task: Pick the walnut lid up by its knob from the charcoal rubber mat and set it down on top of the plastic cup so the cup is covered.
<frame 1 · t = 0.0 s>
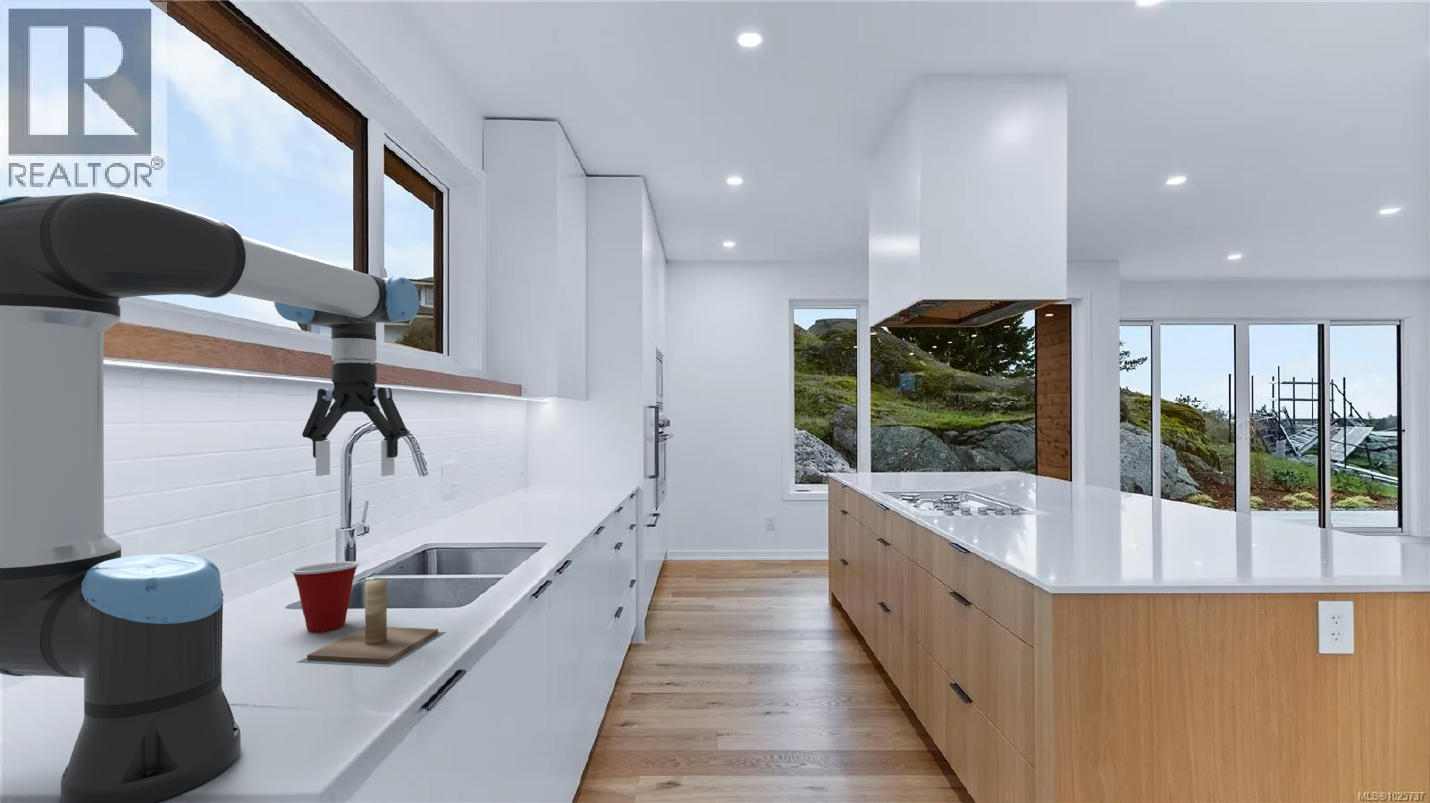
hand: (355, 475, 124), 28 cm above the worktop, fingers open, 13 cm apart
walnut lid: (376, 646, 110), resting on charcoal mat
charcoal mat: (376, 648, 110), on the worktop
plastic cup: (326, 630, 121), on the worktop
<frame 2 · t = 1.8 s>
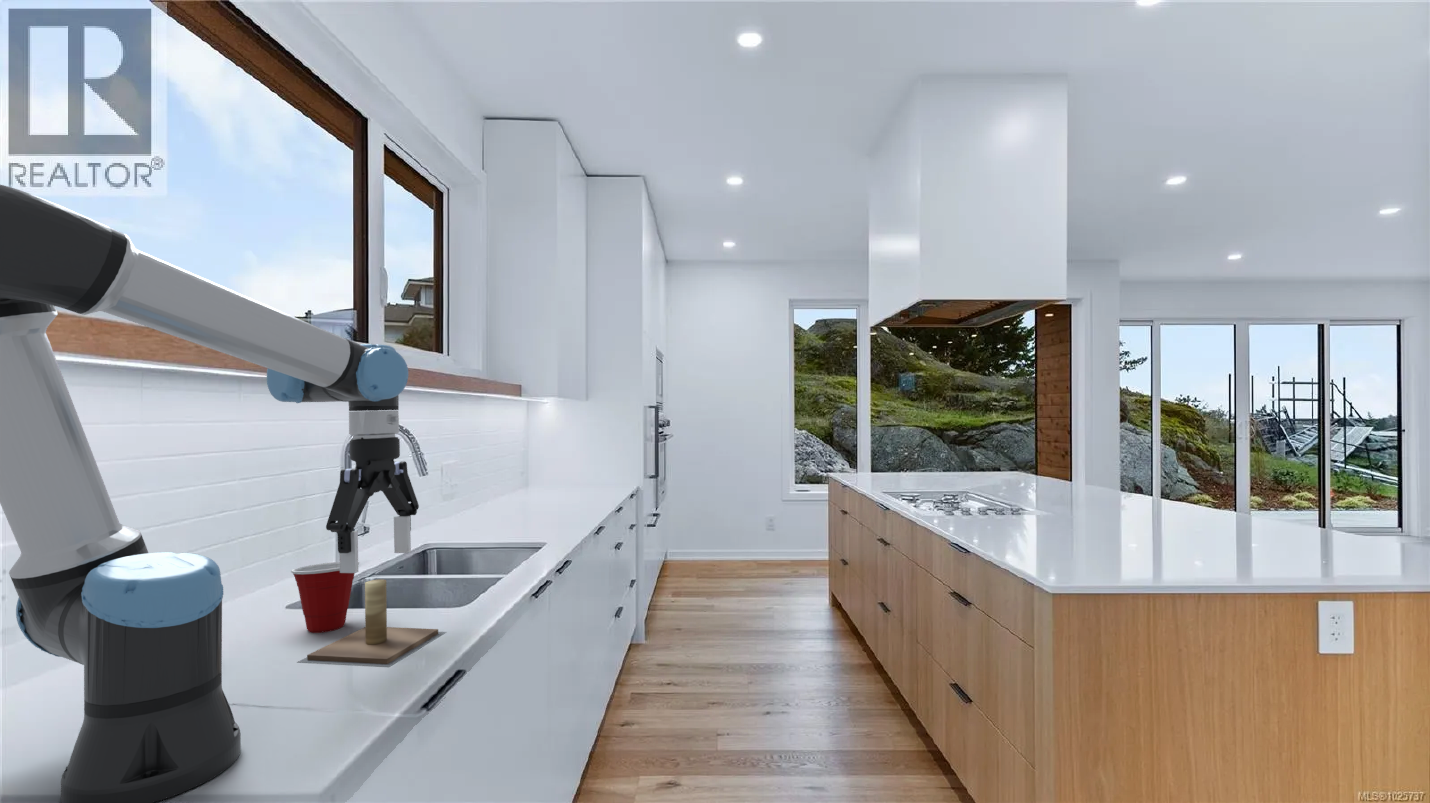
hand: (377, 562, 111), 14 cm above the worktop, fingers open, 13 cm apart
nothing on the worktop moved.
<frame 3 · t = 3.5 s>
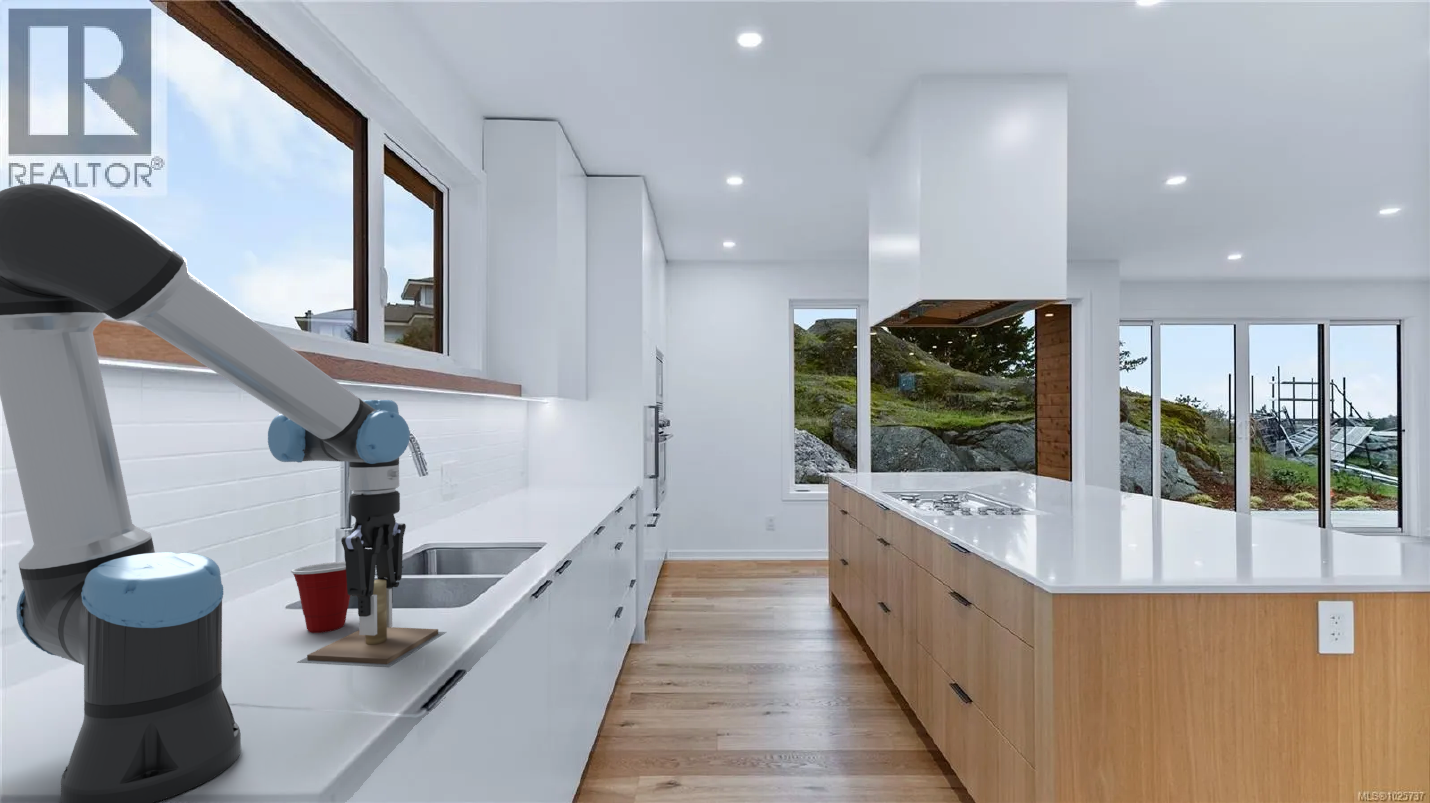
hand: (376, 630, 110), 3 cm above the worktop, fingers closed on walnut lid, 3 cm apart
walnut lid: (376, 646, 110), resting on charcoal mat, touching gripper
everything else where it was.
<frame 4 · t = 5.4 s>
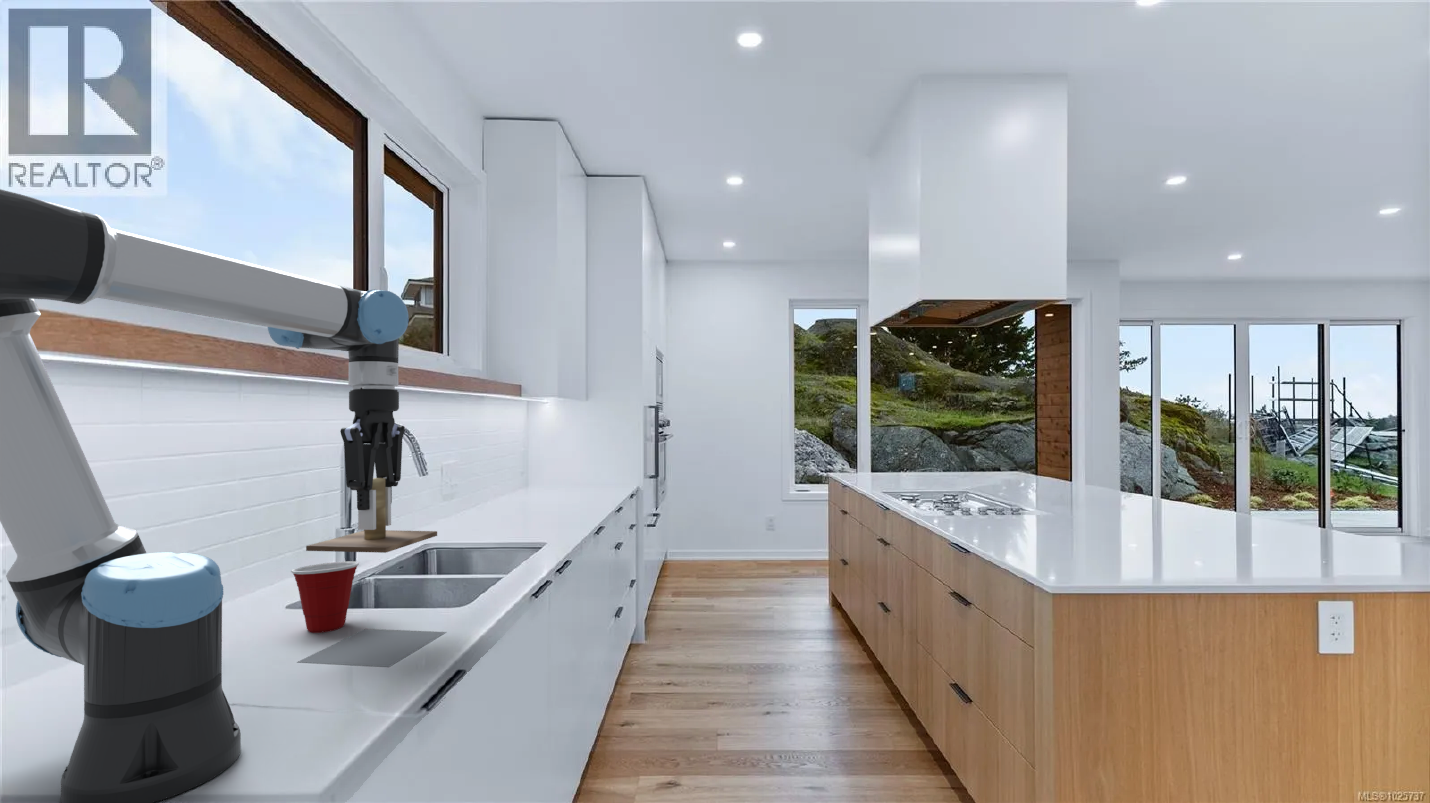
hand: (375, 526, 111), 20 cm above the worktop, fingers closed on walnut lid, 3 cm apart
walnut lid: (375, 542, 111), point 18 cm above the worktop, touching gripper
everything else where it was.
when the fingers open (16 cm above the worktop, at t = 7.6 s): walnut lid drops 2 cm, resting on plastic cup.
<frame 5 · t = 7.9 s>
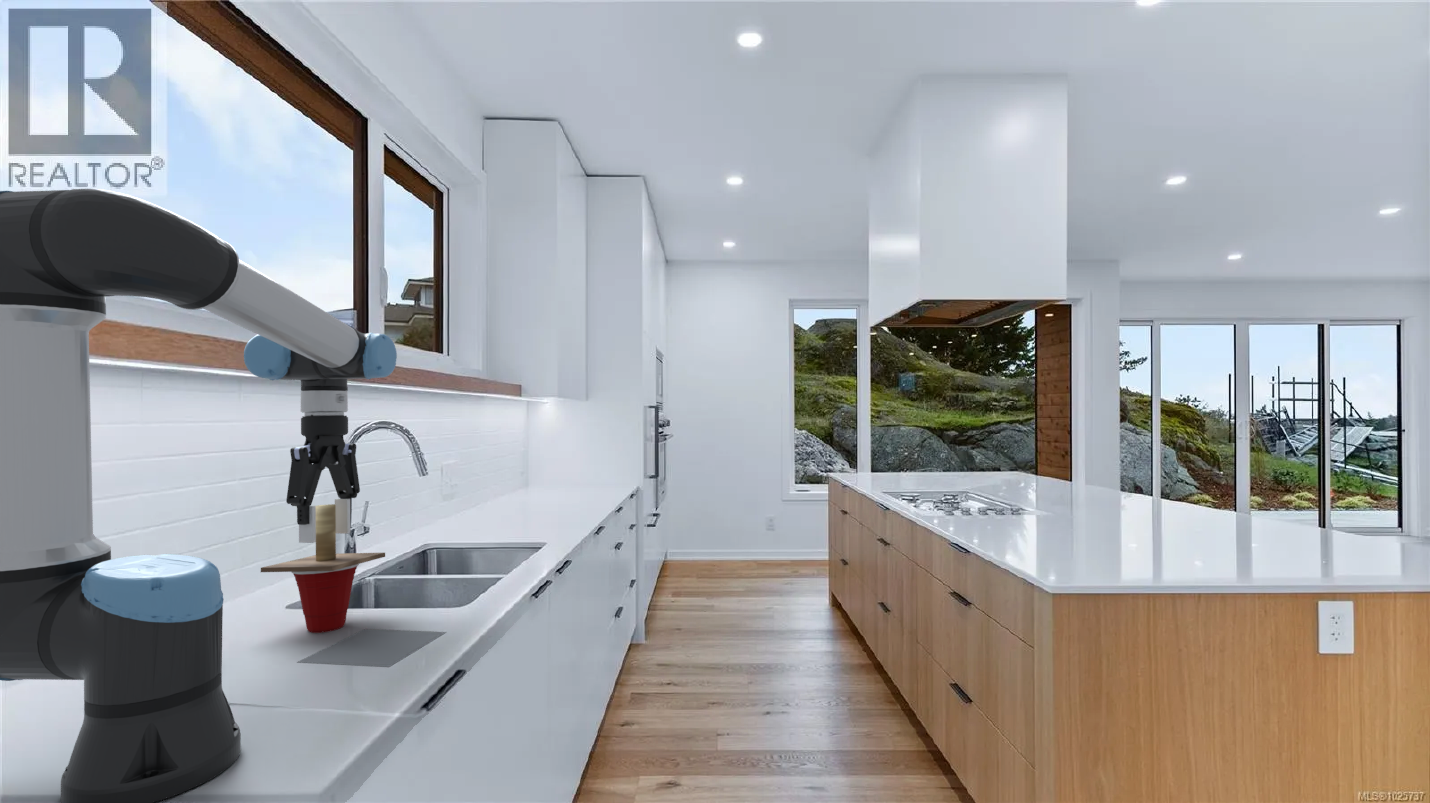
hand: (325, 537, 121), 17 cm above the worktop, fingers open, 8 cm apart
walnut lid: (326, 564, 121), point 12 cm above the worktop, touching plastic cup
plastic cup: (326, 630, 121), on the worktop, touching walnut lid
everything else where it was.
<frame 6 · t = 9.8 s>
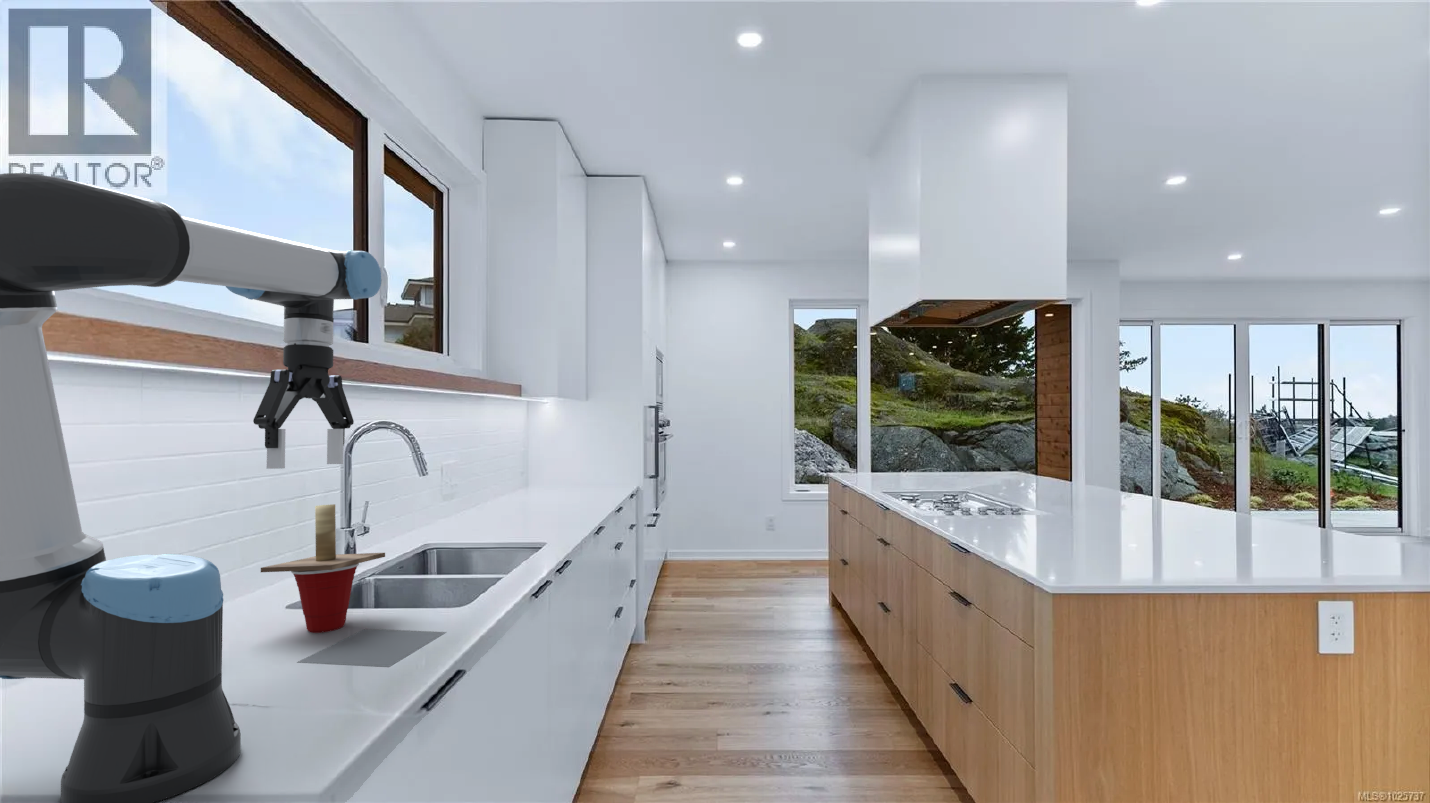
hand: (307, 466, 115), 31 cm above the worktop, fingers open, 13 cm apart
nothing on the worktop moved.
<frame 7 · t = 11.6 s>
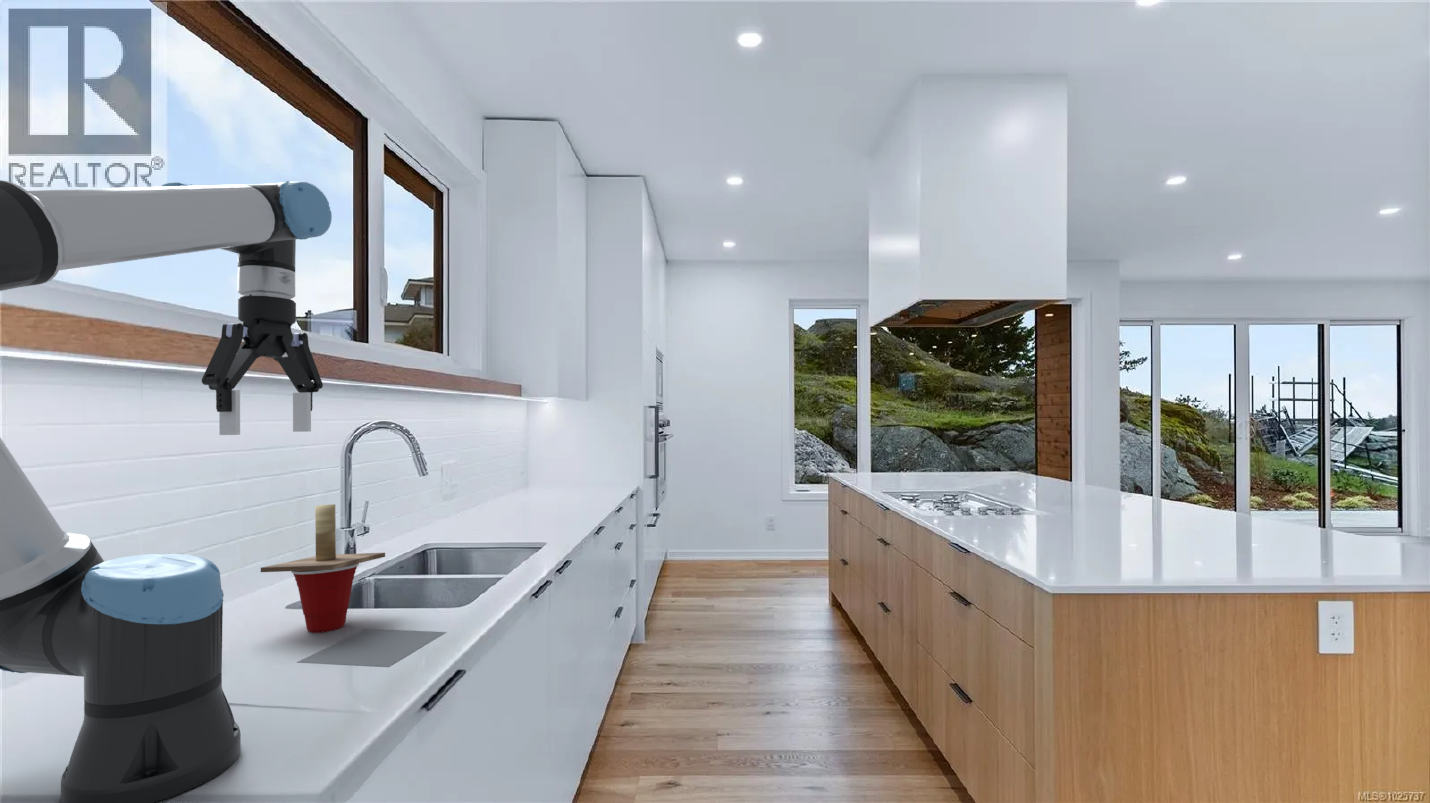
hand: (268, 433, 103), 37 cm above the worktop, fingers open, 13 cm apart
nothing on the worktop moved.
at the end: walnut lid 0.0 cm from the plastic cup (horizontally); walnut lid point 12.0 cm above the worktop; plastic cup tilted 0° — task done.
